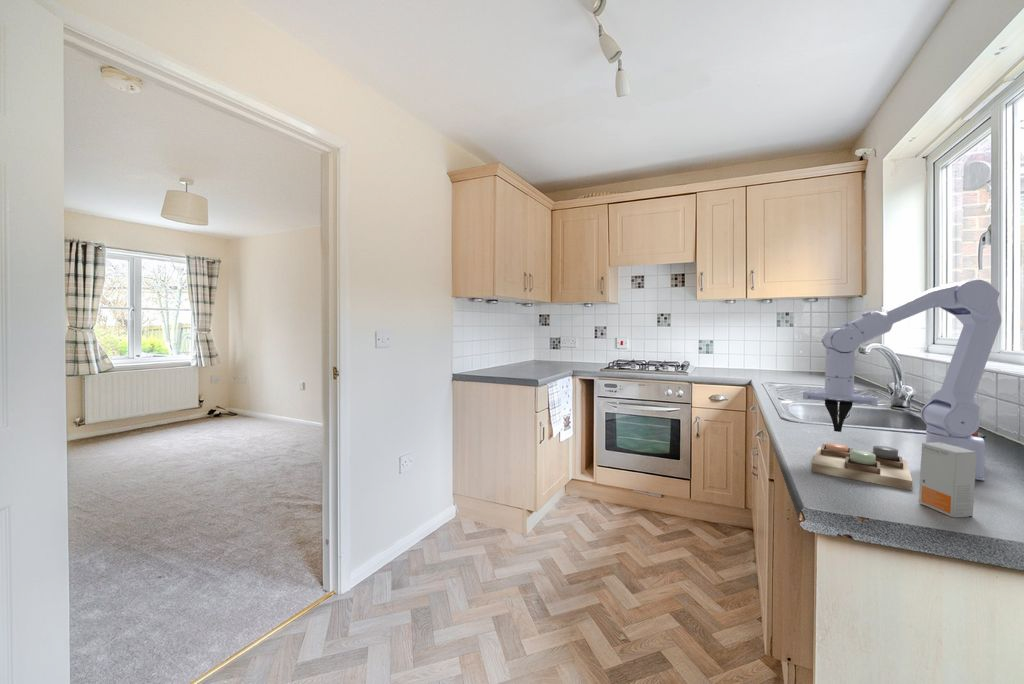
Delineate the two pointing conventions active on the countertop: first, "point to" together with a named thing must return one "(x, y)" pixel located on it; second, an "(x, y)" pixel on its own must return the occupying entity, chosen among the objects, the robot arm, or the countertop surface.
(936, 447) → the skincare box
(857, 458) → the sage button
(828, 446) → the terracotta button
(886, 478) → the button panel
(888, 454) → the charcoal button
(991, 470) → the countertop surface
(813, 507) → the countertop surface
